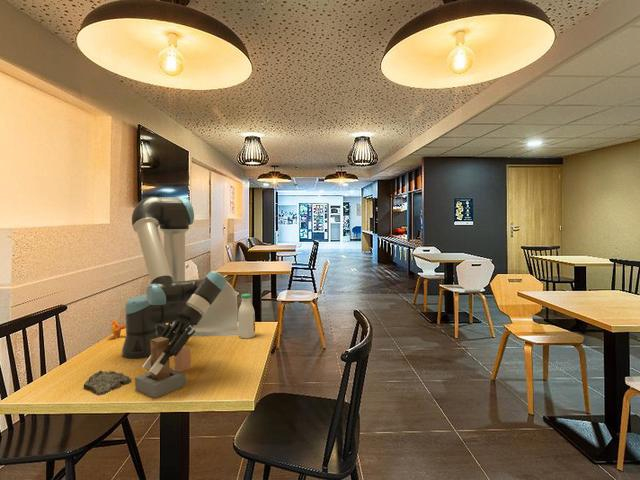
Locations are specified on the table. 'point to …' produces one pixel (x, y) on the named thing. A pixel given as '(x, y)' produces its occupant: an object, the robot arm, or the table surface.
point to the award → (220, 316)
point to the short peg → (183, 359)
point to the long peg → (156, 350)
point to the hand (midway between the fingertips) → (149, 370)
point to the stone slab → (106, 382)
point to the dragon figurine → (117, 328)
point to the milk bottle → (246, 317)
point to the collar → (160, 383)
